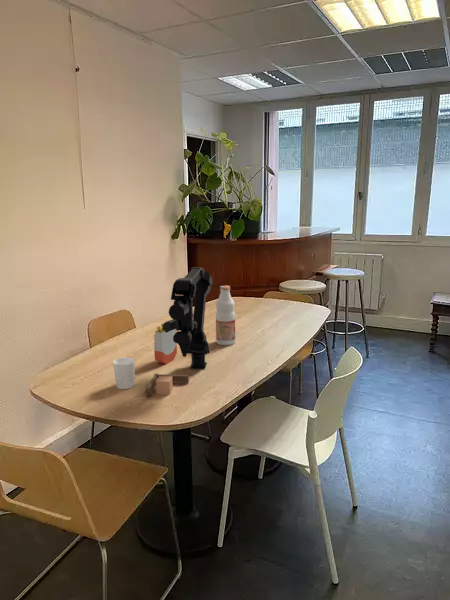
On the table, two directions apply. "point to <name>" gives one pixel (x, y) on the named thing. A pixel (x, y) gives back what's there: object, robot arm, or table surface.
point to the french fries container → (164, 345)
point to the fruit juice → (225, 318)
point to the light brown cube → (164, 385)
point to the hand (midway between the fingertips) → (186, 352)
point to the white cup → (124, 372)
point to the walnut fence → (175, 378)
